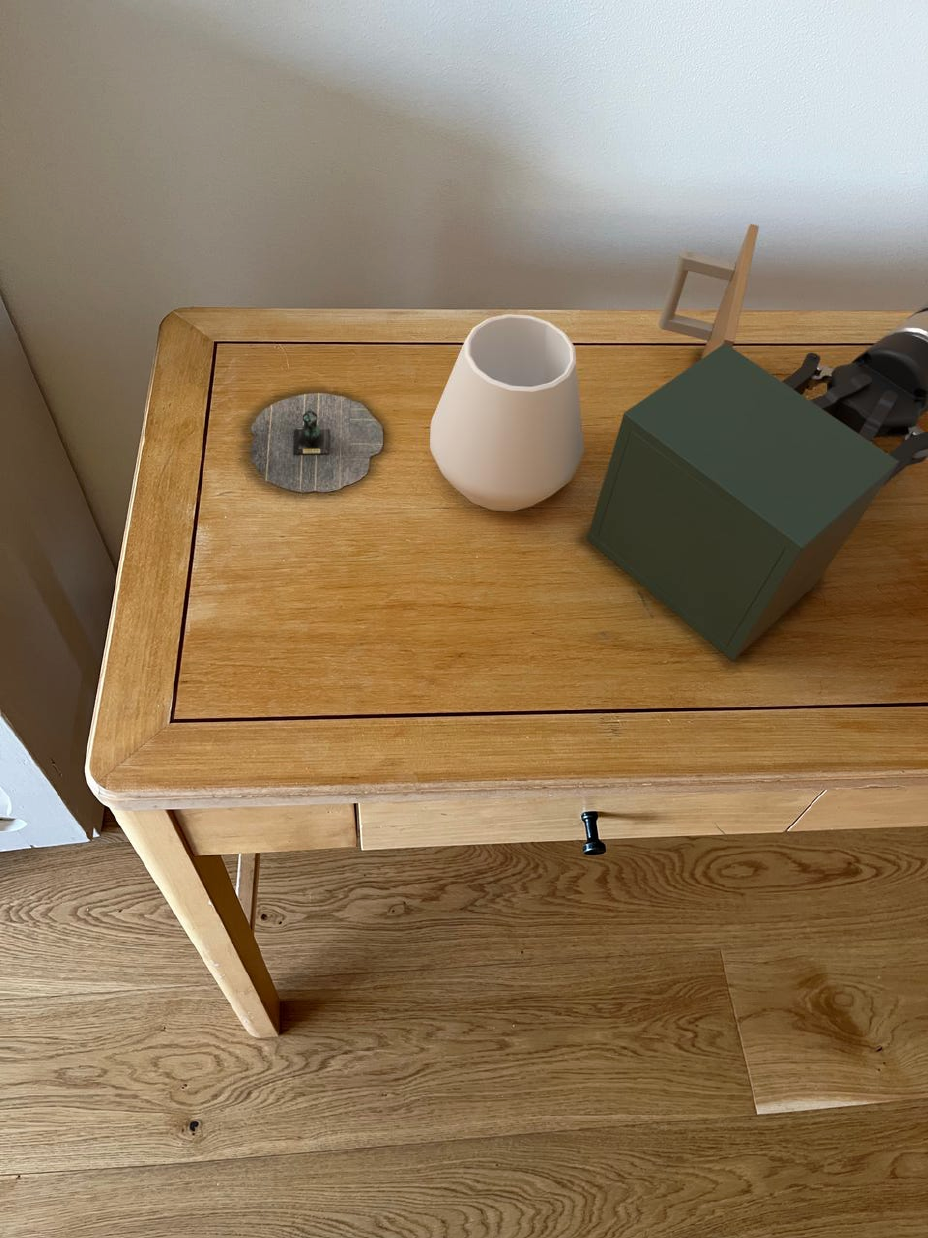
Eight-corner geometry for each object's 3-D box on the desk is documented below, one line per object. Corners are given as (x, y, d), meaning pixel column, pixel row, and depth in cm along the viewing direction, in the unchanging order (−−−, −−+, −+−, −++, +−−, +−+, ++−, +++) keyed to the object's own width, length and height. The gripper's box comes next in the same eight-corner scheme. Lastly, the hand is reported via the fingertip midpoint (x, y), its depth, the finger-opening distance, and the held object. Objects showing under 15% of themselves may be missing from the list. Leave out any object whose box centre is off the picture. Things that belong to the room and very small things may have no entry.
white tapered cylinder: (397, 481, 82) (398, 359, 70) (481, 396, 88) (495, 271, 76) (525, 556, 78) (549, 440, 67) (602, 461, 85) (637, 341, 73)
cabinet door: (621, 451, 85) (660, 322, 73) (652, 341, 94) (693, 209, 82) (684, 468, 85) (734, 341, 72) (710, 356, 93) (759, 225, 81)
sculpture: (291, 515, 79) (248, 429, 76) (263, 505, 87) (224, 427, 84) (408, 454, 83) (372, 369, 80) (371, 450, 91) (337, 373, 88)
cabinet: (674, 472, 85) (725, 342, 72) (818, 581, 79) (899, 461, 66) (586, 539, 80) (623, 412, 67) (732, 661, 74) (802, 548, 61)
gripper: (971, 456, 82) (821, 597, 73) (811, 351, 89) (654, 468, 79) (1019, 394, 76) (862, 539, 67) (844, 285, 82) (677, 403, 73)
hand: (749, 500), depth 73 cm, fingers closed on toy, 4 cm apart
